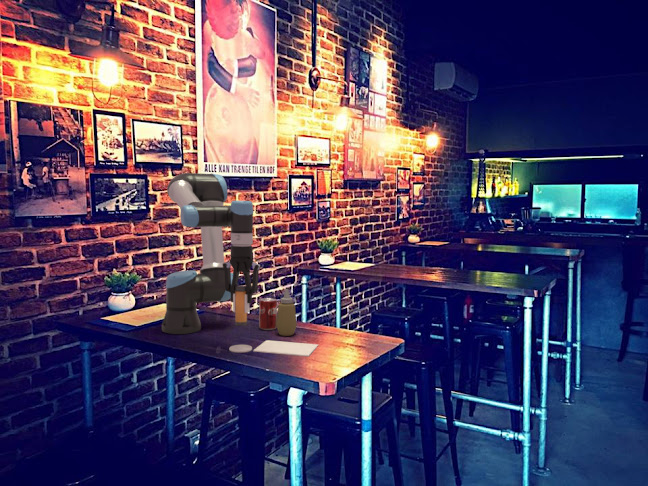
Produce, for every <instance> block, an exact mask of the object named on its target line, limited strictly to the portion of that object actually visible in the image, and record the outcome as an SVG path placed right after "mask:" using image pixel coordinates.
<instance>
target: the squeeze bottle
mask: <svg viewBox="0 0 648 486" xmlns="http://www.w3.org/2000/svg"><path fill="white" fill-rule="evenodd" d="M296 315H297V312H296V304H294V299H293V298H292V297H291V296H290V290H289V288H285V290H284V294H283V297H281V298H280V303H279V304H277V322H276V326H277V328H276V330H277V332H278V334H279V336H283V337H288V336H293V335H294V334H295V331H296V329H297V325H298V324H297V316H296Z"/></svg>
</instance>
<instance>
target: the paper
mask: <svg viewBox="0 0 648 486" xmlns="http://www.w3.org/2000/svg"><path fill="white" fill-rule="evenodd" d="M317 346H318V347H319V344H314V343H305V342H304V343H302V342H292V341H291V342H290V341H279V340H267V339H266V340H265V341H263V342H262V343H261V344H260V345H258V346H257V347H256V348H254V349H252V351H253V352H254V353H257V352H258V353H268V354H279V355H287V356H288V355H289V356H301V357H310V356H311V355H312V354H313V353H314V351H315V350H317V348H318V347H317Z"/></svg>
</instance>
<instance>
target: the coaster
mask: <svg viewBox="0 0 648 486" xmlns="http://www.w3.org/2000/svg"><path fill="white" fill-rule="evenodd" d="M251 351H253V346H251V345H249V344H234V345H231V346H230V347H229V352H231V353H236V354H237V353H238V354H239V353H241V354H242V353H249V352H251Z"/></svg>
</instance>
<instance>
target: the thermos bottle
mask: <svg viewBox="0 0 648 486" xmlns="http://www.w3.org/2000/svg"><path fill="white" fill-rule="evenodd" d="M235 291H236V308H235V312H234V313H235V315H234V316H235V317H234V318H235V321H234V322H235V324H234V325H235V326H238V327H243V326H244V327H245V326H247V325H248V313H245V294H246V293H247V291H246V285H237V286H235Z"/></svg>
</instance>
